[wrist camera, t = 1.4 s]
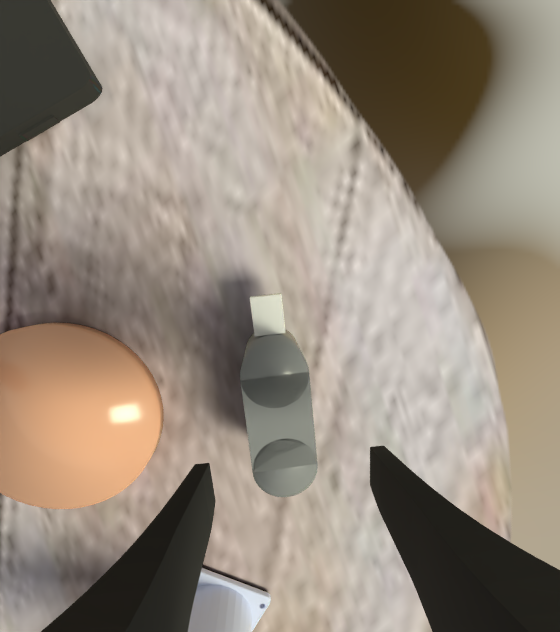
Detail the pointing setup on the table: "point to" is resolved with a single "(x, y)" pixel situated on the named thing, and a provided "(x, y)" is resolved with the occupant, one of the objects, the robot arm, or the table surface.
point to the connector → (277, 403)
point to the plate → (73, 415)
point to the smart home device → (38, 72)
